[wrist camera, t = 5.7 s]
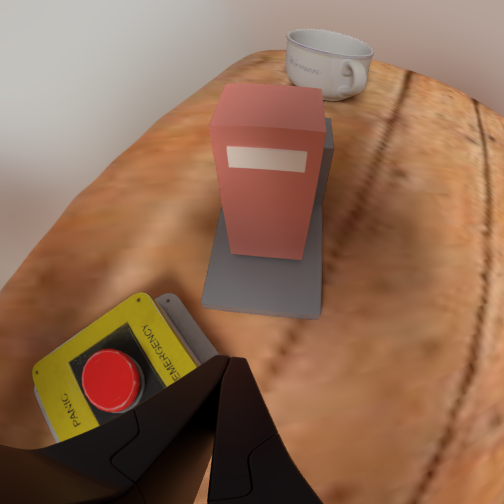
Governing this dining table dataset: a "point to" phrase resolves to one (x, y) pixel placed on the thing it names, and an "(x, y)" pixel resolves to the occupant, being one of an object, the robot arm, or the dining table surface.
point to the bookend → (271, 268)
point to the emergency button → (118, 363)
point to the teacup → (328, 62)
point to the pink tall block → (268, 165)
